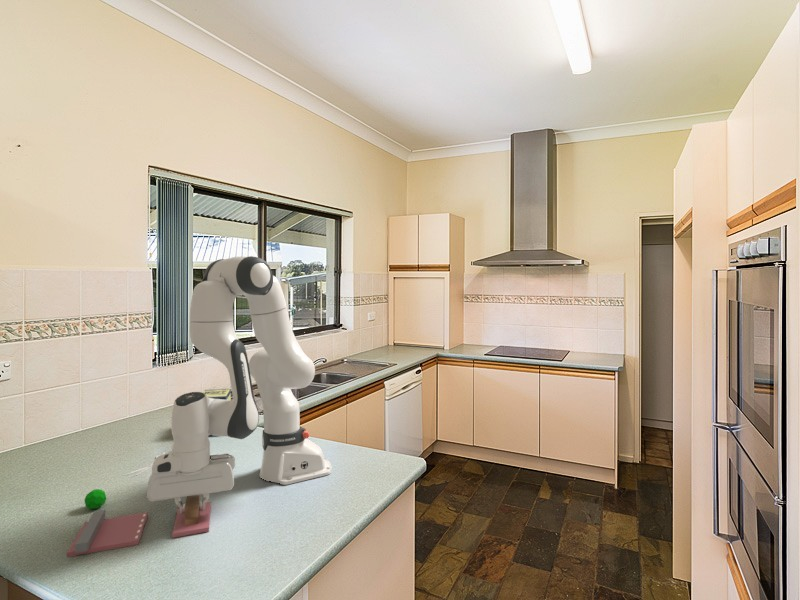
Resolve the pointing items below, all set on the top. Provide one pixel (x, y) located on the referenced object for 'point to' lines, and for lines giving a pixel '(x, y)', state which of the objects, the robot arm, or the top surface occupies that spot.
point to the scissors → (144, 468)
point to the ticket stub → (192, 518)
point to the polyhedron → (95, 499)
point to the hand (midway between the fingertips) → (192, 511)
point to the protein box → (218, 395)
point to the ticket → (108, 533)
